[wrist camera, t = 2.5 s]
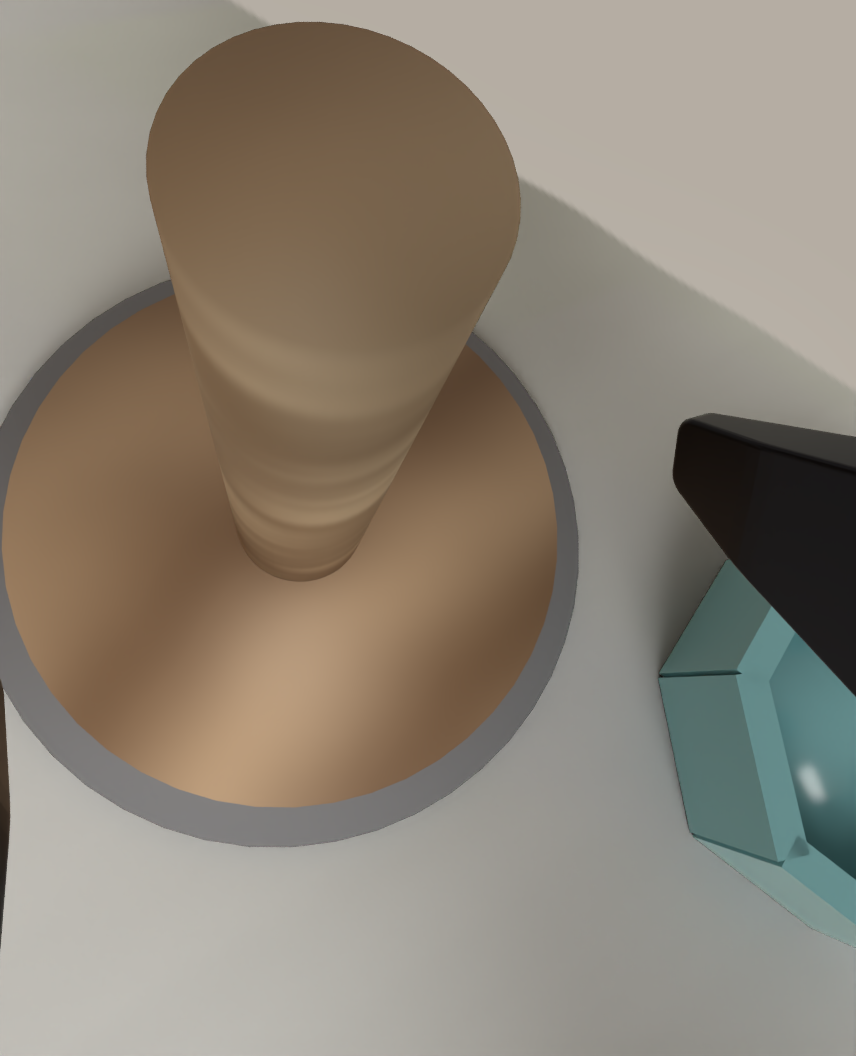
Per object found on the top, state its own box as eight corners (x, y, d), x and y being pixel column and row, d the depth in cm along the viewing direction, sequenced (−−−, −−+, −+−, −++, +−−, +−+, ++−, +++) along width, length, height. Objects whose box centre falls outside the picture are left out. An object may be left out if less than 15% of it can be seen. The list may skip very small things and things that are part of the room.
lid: (629, 495, 20) (1182, 183, 8) (344, 919, 16) (545, 1613, 4) (262, 207, 20) (234, -591, 8) (-115, 570, 16) (-1408, 168, 4)
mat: (666, 494, 21) (674, 490, 21) (351, 980, 17) (352, 987, 16) (257, 172, 21) (257, 162, 20) (-177, 581, 16) (-188, 578, 16)
